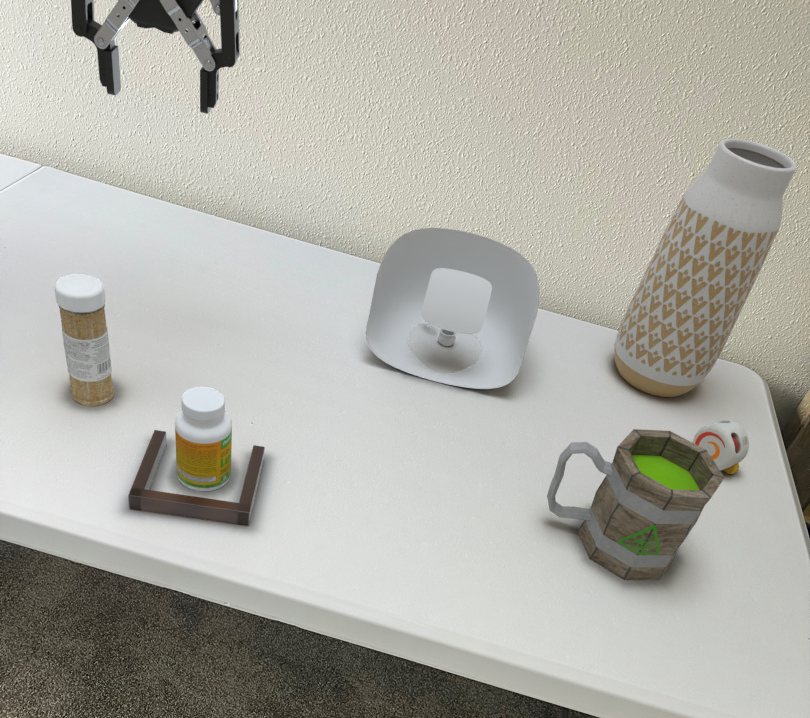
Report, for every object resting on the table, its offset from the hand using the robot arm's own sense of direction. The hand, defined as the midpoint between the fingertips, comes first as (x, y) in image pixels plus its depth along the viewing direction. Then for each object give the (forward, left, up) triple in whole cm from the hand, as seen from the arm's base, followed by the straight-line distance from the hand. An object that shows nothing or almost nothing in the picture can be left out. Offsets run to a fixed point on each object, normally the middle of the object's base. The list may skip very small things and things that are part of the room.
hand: (160, 101), depth 74 cm
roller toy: (+68, -4, -28) cm, 74 cm away
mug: (+51, -21, -28) cm, 62 cm away
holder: (+8, -21, -28) cm, 36 cm away
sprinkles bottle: (-6, -10, -28) cm, 31 cm away
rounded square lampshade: (+34, +13, -28) cm, 46 cm away
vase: (+64, +14, -28) cm, 71 cm away
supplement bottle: (+8, -20, -28) cm, 36 cm away
